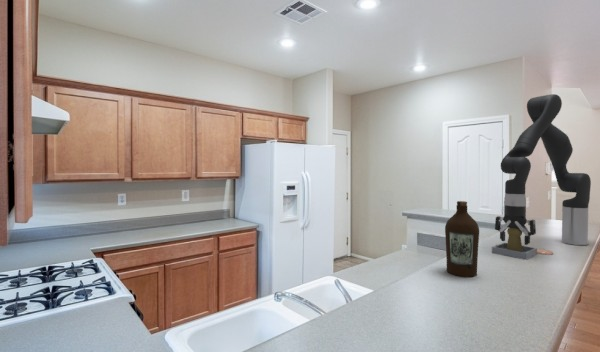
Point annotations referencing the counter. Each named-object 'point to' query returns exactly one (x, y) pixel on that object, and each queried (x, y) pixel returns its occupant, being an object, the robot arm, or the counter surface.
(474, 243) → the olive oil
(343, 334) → the counter surface
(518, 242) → the cork
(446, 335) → the counter surface
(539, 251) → the salmon pink disc
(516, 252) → the bin frame
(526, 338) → the counter surface
